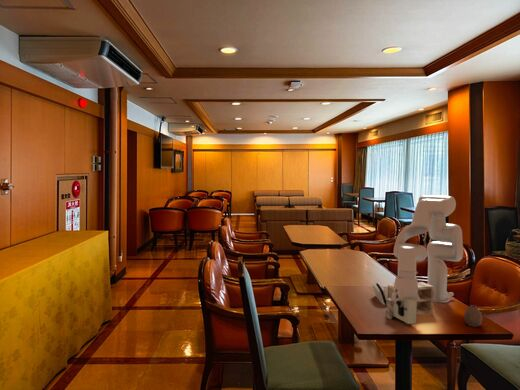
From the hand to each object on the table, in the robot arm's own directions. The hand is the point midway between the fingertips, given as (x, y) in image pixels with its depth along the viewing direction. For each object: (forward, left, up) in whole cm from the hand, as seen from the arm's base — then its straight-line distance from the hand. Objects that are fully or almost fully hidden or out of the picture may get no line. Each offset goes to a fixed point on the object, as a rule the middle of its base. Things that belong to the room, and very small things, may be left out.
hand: (405, 314), depth 170 cm
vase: (-28, +9, -4) cm, 30 cm away
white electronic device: (-10, -32, -4) cm, 34 cm away
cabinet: (-9, -11, -4) cm, 15 cm away
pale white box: (0, -1, -2) cm, 3 cm away
